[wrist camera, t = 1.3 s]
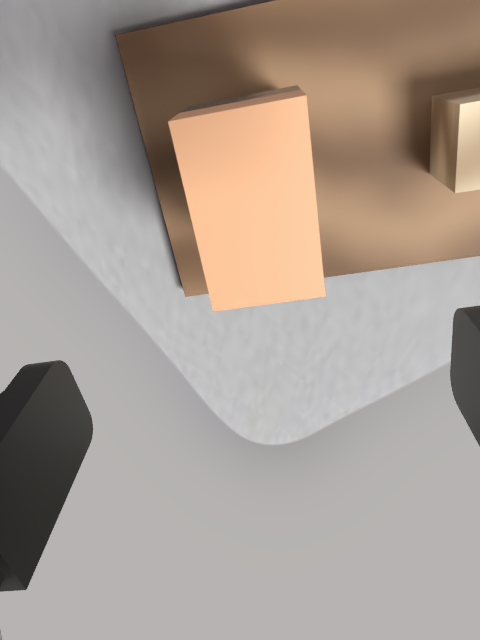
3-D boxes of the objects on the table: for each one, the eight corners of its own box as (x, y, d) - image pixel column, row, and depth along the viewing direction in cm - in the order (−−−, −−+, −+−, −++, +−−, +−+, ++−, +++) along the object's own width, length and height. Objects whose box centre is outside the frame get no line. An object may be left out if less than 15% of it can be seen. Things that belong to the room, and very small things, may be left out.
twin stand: (120, 35, 24) (89, 32, 20) (622, -74, 21) (715, -106, 17) (187, 289, 31) (175, 328, 27) (564, 236, 28) (618, 270, 24)
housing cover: (178, 112, 19) (168, 121, 17) (301, 89, 18) (306, 95, 16) (217, 286, 23) (213, 311, 21) (319, 272, 22) (325, 296, 20)
